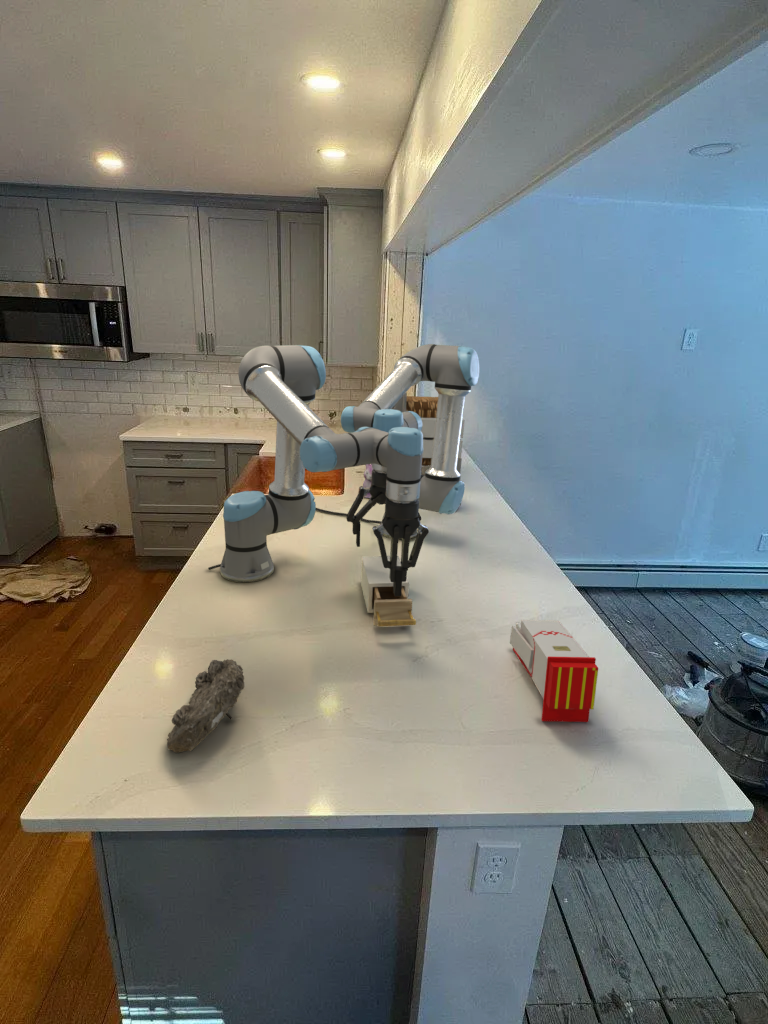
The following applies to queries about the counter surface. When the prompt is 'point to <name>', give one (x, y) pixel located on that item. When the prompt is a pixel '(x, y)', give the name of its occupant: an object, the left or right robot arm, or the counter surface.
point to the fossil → (206, 705)
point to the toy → (556, 669)
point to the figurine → (368, 479)
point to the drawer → (391, 608)
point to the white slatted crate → (426, 423)
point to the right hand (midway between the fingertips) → (382, 544)
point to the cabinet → (376, 578)
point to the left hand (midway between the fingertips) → (397, 593)
